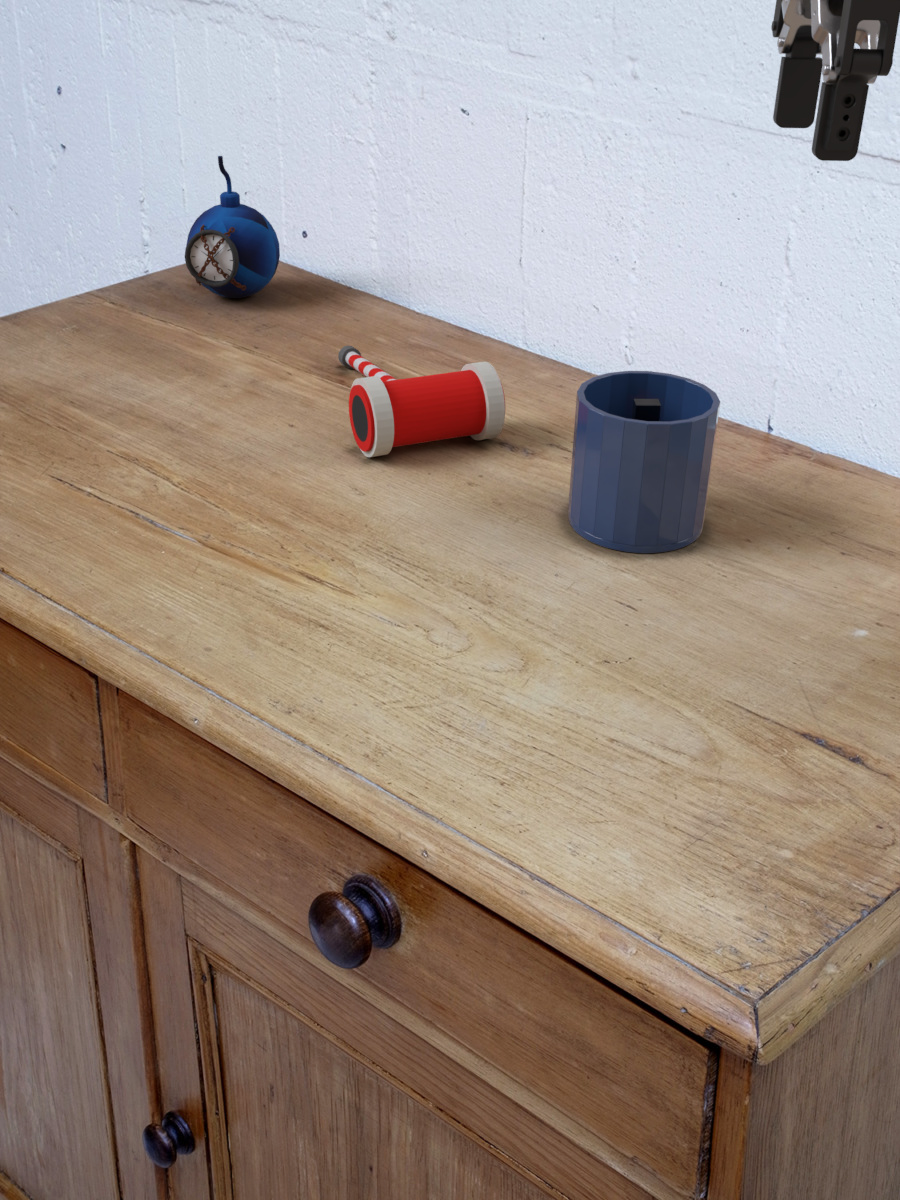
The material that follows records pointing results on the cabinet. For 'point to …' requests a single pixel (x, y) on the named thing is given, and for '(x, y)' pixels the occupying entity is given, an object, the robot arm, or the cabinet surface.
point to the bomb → (232, 247)
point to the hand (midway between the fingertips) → (811, 142)
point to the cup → (641, 461)
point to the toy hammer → (421, 405)
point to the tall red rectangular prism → (646, 409)
